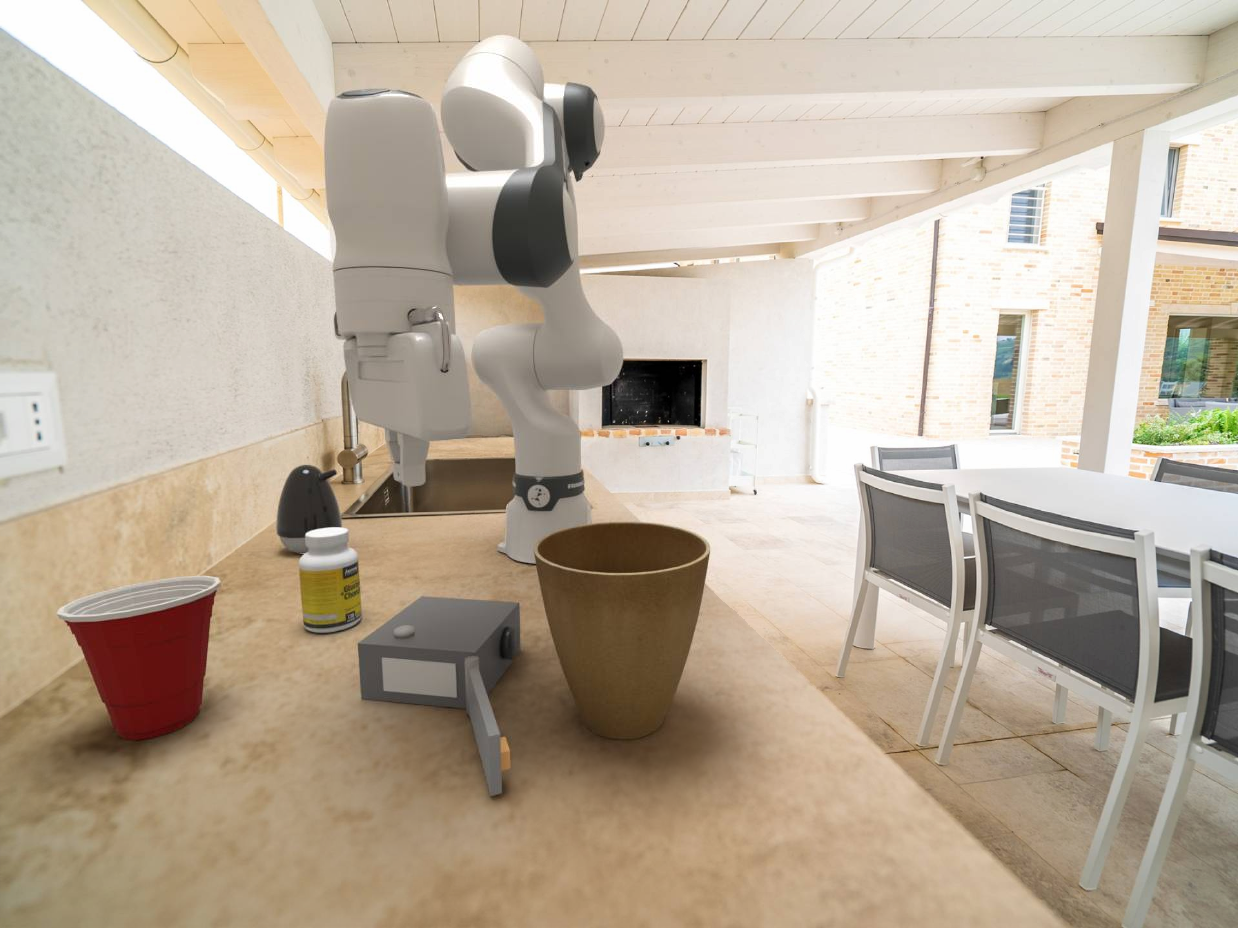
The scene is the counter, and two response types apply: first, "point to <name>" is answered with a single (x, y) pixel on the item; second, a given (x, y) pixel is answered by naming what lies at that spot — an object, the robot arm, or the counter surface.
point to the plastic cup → (147, 650)
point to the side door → (485, 727)
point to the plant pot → (622, 617)
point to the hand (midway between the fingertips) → (409, 483)
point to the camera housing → (438, 650)
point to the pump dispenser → (306, 506)
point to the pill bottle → (329, 581)
